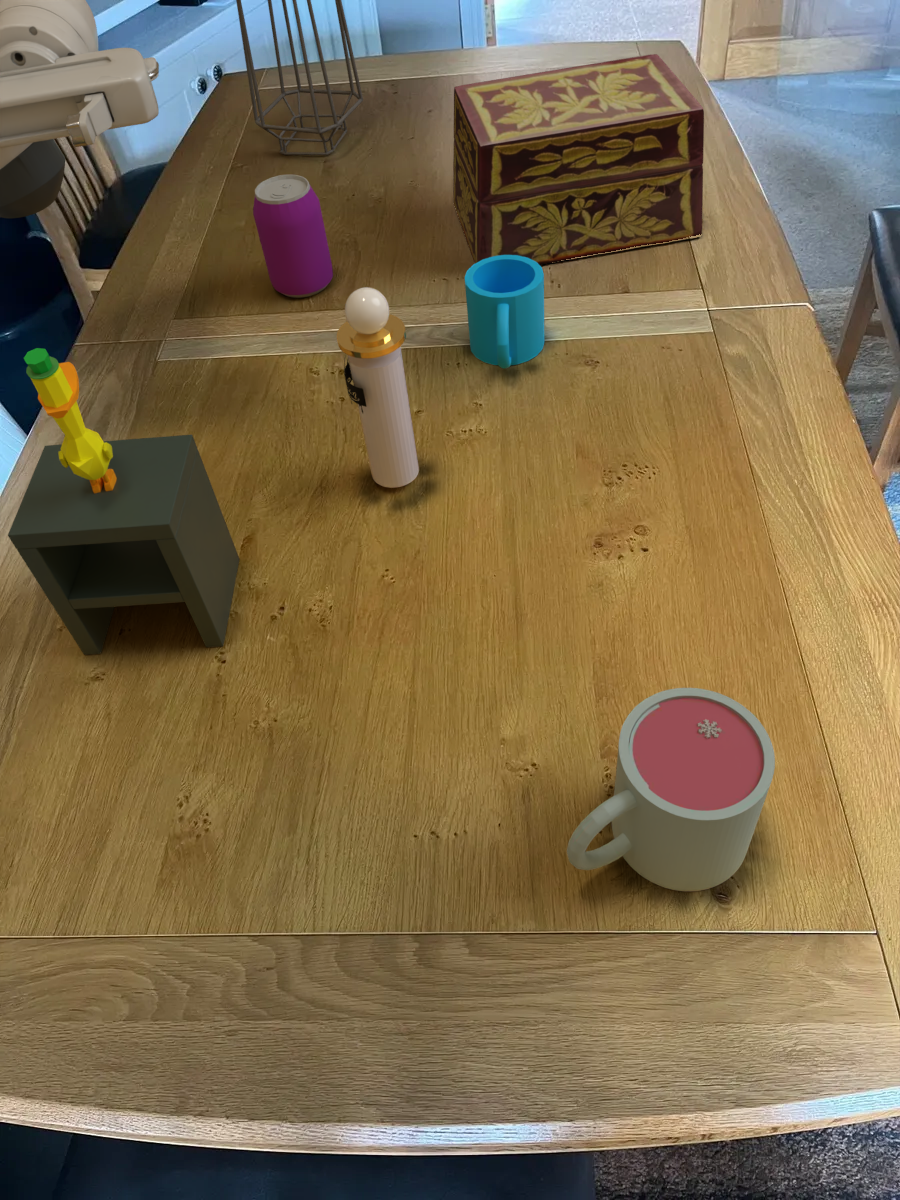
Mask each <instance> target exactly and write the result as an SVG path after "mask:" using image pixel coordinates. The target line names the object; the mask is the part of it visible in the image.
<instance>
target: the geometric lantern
mask: <svg viewBox="0 0 900 1200" xmlns="http://www.w3.org/2000/svg"><path fill="white" fill-rule="evenodd" d="M272 1H273V0H267V6H268V12H269V20H270V24H271V31H272V32H271V33H272V40H273V44H274V53H275V58H276V65H277V72H278V78H279V79H278V80H279V87H280V95H278V96H277V97H276V98H275V99H274V100H273V101H272V103H269V105H268V106H267V107H266V109H264V110H263V107H262V102H261V96H260V92H259V87H258V80H257V76H256V71H255V67H254V65H255V64H254V60H253V56H252V51H251V50H252V49H251V45H250V39H249V34H248V30H247V24H246V19H245V13H244V8H243V4H242V0H235V3H236V7H237V14H238V15H237V16H238V19H239V20H238V22H239V27H240V28H239V29H240V35H241V41H242V48H243V54H244V61H245V67H246V72H247V81H248V87H249V93H250V101H251V106H252V112H253V113H252V114H253V119H254V124H255V125H256V126H258V127H259V128H260V129H262V130H264V131H265V132H267V133H268V134H270V135H271V136H273V137H275V138H276V139H277V140H278V143H279V149H280V150H279V153H280V154H282V155H284V156H328V155H330V154H332V153H333V152H334V151H335V150H336V149H337V148H338V146H339V144H340V142H341V141H342V140H343V138H344V136H345V135H346V134H347V132H348V129H347V123H346V120H347V119H348V117H349V116H350V115H351V114H352V113H353V112H354V111H355V110H356V109H357V108H358V107H359V106H360V105H361V104H362V103H363V101H364V97H363V93H362V89H361V82H360V79H359V73H358V70H357V64H356V61H355V55H354V51H353V47H352V41H351V37H350V33H349V29H348V25H347V19H346V15H345V11H344V5H343V1H342V0H334V2H335V8H336V14H337V20H338V26H339V31H340V37H341V42H342V47H343V53H344V54H343V55H344V59H345V66H346V72H347V76H348V81H349V82H348V83H349V87H350V89H349V90H340V89H339V90H337V89H331V86H330V82H329V77H328V73H327V68H326V64H325V59H324V55H323V50H322V45H321V41H320V36H319V32H318V28H317V23H316V18H315V14H314V9H313V5H312V0H306V4H307V9H308V13H309V17H310V23H311V27H312V31H313V36H314V41H315V44H316V49H317V53H318V59H319V62H320V67H321V71H322V76H323V81H324V85H325V89H318V88H314V87H313V81H312V75H311V70H310V69H311V68H310V65H309V60H308V53H307V49H306V43H305V39H304V38H305V37H304V33H303V27H302V22H301V16H300V13H299V6H298V3H297V0H292V6H293V11H294V16H295V22H296V25H297V26H296V28H297V32H298V38H299V43H300V48H301V54H302V59H303V64H304V68H305V69H304V70H305V75H306V79H307V85H308V88H302V85H301V79H300V74H299V69H298V63H297V57H296V51H295V45H294V40H293V33H292V28H291V23H290V17H289V11H288V6H287V1H286V0H281V4H282V10H283V15H284V20H285V27H286V32H287V37H288V43H289V49H290V54H291V59H292V64H293V71H294V75H295V81H296V87H297V88H295V89H290V90H285V84H284V76H283V70H282V69H283V68H282V62H281V55H280V48H279V43H278V36H277V35H278V34H277V30H276V22H275V16H274V15H275V14H274V9H273V2H272ZM351 67H352V68H351ZM353 76H354V80H353ZM354 81H355V85H356V90H357V91H355V85H354ZM301 93H302V94H304V93H305V94H309V95H310V100H311V105H312V111H313V114H302V109H301V107H302V106H301ZM295 94H296V95H297V96H296V97H297V109H298V111H297V112H298V114H295V112H294V111H293V109H292V107H291V105H290V103H289V102H288V100H287V98H286V96H291V95H295ZM315 94H324V95H327V98H328V99H327V100H328V104H329V107H330V111H331V114H319V112H318V107H317V101H316V96H315ZM333 95H343V96H348V97H347V100H346V102H345V104H344V107H343V109H342V111H341V113H340V114H337V113H336V109H335V105H334V104H335V103H334V100H333ZM353 96H354V97H355V98H356V99H357V100H356V101H355V103H354V104H353V105H351V106H350V108H349V109H348V110H347V108H348V106H349V103H350V101H351V99H352V97H353ZM282 100H283V101H284V103H285V105H286V107H287V109H288V111H289V112H290V114H291V116H292V117H291V119H290V120H289V121H288V123H287V124H286V125H274V124H266V122H265V119H264V118H265V116H267V115H268V113H269V112H271V110H272V109H273V108H274V107H275V106H276V105H278V103H279V102H280V101H282ZM258 114H259V116H258ZM303 118H314V120H315V126H304V123H303V122H304V121H303ZM320 118H332V120H333V124H331V125H328V126H321V123H320ZM296 119H299V124H300V127H298V126H297V121H296ZM292 123H293V125H294V126H291V125H292ZM273 130H276V131H281V132H280V134H279V135H278V134H277V133H275V132H274V131H273ZM330 131H331V132H330ZM337 131H343V132H342V133H341V135H340V136H339V138H338V139H337V140H336V142H335V144H334V142H333V137H334V136H335V134H336V133H337ZM286 132H292V133H291V135H290V136H289V137H283V136H284V134H285V133H286ZM328 132H330V134H329V136H328V137H327V138H325V136H324V135H323V134H326V133H328ZM297 133H306V134H315V135H319V137H320V138H318V139H317V138H297V137H295V135H296V134H297ZM290 142H306V143H307V142H308V143H309V142H310V143H322V145H323V149H324V152H323V151H322V152H316V151H315V152H311V151H310V152H309V151H307V152H304V151H303V152H302V151H299V152H297V151H296V152H295V151H294V152H293V151H292V152H291V151H287V146H288V145H289V144H290ZM327 142H329V145H330V149H329V150H328V148H327Z"/></svg>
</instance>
